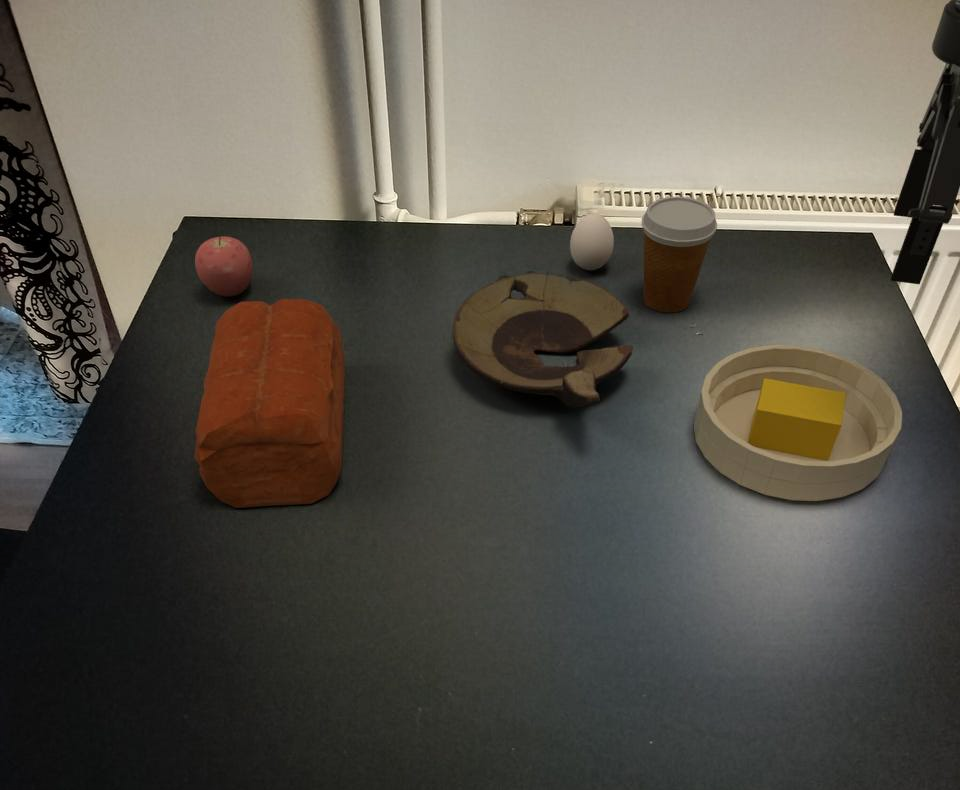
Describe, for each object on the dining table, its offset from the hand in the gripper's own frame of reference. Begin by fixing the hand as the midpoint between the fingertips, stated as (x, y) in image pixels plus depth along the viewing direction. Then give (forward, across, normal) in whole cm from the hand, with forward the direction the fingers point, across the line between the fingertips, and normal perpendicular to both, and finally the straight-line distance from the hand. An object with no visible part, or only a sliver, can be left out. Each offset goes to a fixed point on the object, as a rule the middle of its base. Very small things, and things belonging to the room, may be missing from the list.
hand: (905, 247), depth 92 cm
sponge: (+19, +9, -6) cm, 22 cm away
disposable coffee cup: (+19, -16, -25) cm, 36 cm away
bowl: (+19, +9, -6) cm, 22 cm away
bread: (+18, +24, -64) cm, 71 cm away
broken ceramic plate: (+19, +4, -37) cm, 42 cm away
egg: (+19, -22, -37) cm, 47 cm away
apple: (+18, -2, -83) cm, 85 cm away
